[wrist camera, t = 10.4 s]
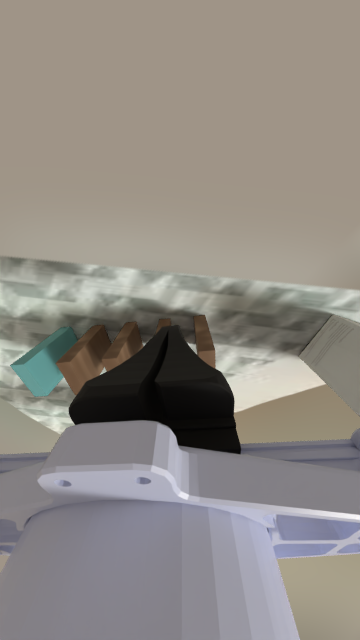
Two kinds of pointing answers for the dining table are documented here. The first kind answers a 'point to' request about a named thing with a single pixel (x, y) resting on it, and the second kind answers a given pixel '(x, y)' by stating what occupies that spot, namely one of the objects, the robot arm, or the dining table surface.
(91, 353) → the walnut domino
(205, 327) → the walnut domino
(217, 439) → the robot arm
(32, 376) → the teal domino
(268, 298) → the dining table surface
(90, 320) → the dining table surface
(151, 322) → the dining table surface
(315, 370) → the skincare box
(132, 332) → the walnut domino
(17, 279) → the dining table surface
